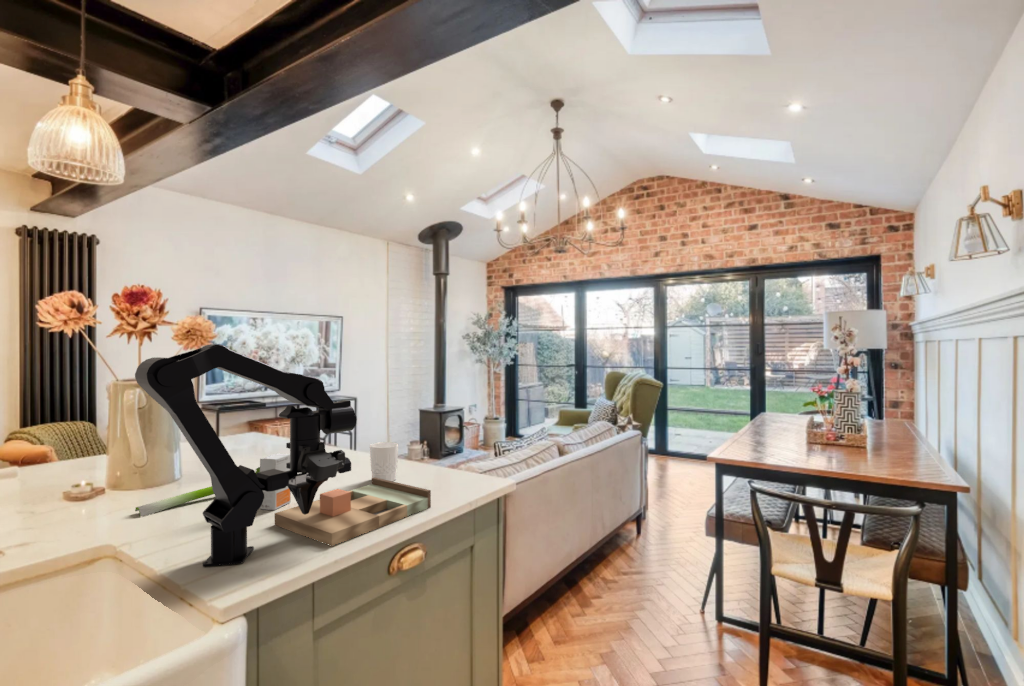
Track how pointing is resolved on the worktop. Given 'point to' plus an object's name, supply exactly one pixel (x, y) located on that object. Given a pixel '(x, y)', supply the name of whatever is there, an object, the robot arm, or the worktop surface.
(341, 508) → the block
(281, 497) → the skincare box
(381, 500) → the board
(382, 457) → the white cup
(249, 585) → the worktop surface
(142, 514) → the leek
